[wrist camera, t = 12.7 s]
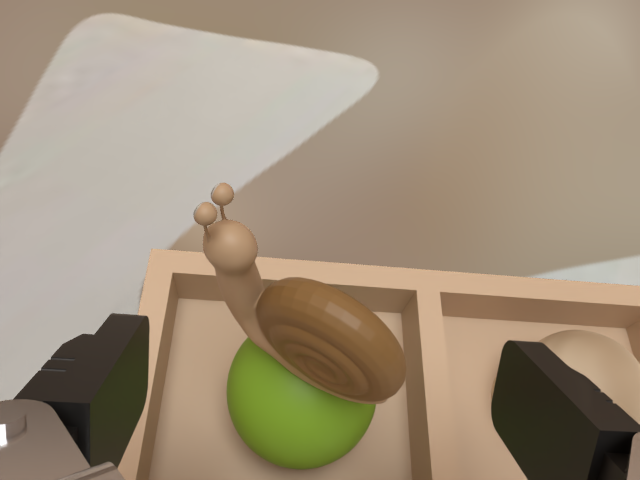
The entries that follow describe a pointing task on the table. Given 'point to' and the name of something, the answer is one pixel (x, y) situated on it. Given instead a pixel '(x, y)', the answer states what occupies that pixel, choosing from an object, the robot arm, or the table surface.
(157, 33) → the table surface
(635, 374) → the beige domed knob
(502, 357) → the robot arm
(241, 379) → the snail figurine
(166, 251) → the divided tray
